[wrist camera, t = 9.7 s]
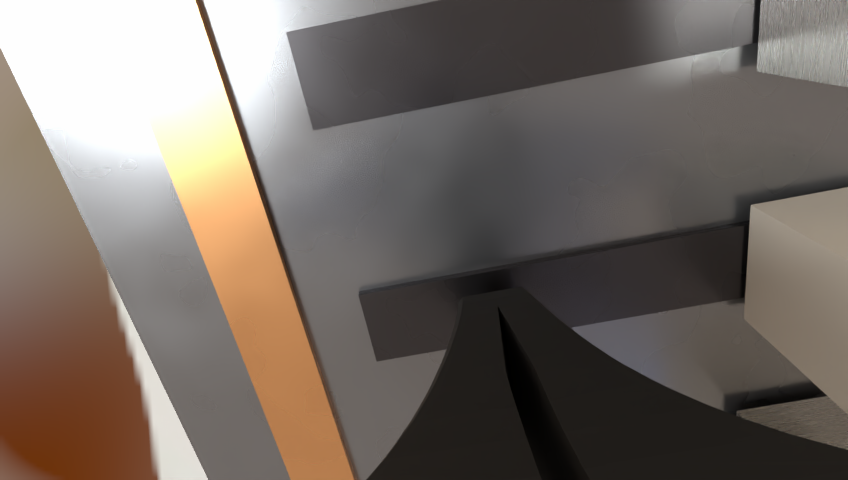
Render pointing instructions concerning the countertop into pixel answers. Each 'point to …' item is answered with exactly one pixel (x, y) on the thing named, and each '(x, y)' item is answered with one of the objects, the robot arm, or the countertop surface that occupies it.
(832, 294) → the block
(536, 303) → the robot arm
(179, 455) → the countertop surface
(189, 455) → the countertop surface
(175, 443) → the countertop surface
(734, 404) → the breaker panel
